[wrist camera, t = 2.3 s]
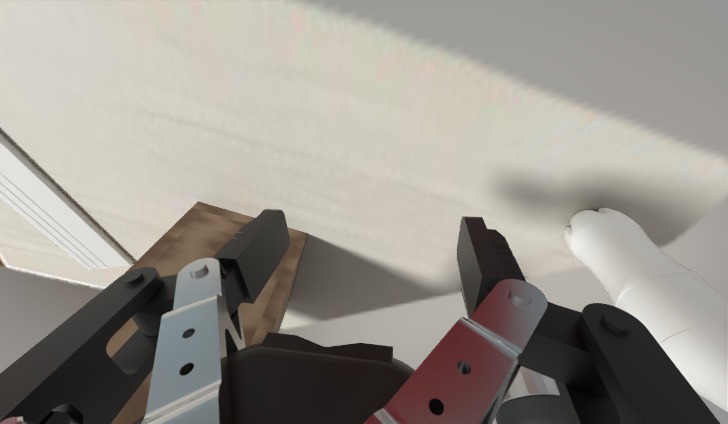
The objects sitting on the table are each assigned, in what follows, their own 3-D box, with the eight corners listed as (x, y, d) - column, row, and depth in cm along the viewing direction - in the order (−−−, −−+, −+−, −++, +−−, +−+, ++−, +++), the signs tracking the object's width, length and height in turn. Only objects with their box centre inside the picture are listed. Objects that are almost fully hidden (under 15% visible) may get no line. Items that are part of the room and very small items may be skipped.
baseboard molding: (85, 266, 50) (137, 258, 47) (70, 278, 47) (124, 271, 45) (-126, 91, 32) (-60, 66, 30) (-166, 97, 30) (-97, 70, 28)
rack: (307, 233, 40) (164, 624, 14) (289, 300, 50) (186, 597, 25) (197, 201, 38) (-204, 593, 12) (202, 278, 48) (-9, 577, 23)
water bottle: (544, 233, 37) (733, 492, 17) (588, 193, 33) (907, 471, 13) (586, 249, 38) (808, 509, 18) (633, 212, 34) (990, 496, 14)
